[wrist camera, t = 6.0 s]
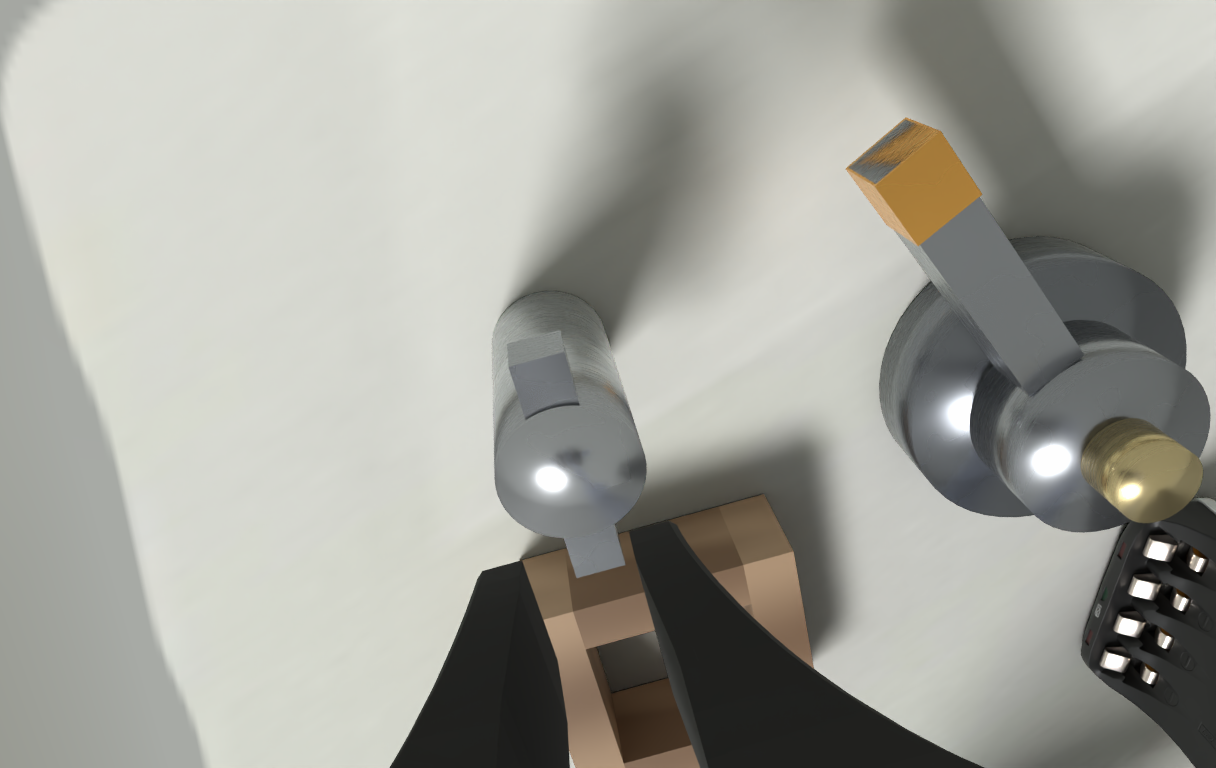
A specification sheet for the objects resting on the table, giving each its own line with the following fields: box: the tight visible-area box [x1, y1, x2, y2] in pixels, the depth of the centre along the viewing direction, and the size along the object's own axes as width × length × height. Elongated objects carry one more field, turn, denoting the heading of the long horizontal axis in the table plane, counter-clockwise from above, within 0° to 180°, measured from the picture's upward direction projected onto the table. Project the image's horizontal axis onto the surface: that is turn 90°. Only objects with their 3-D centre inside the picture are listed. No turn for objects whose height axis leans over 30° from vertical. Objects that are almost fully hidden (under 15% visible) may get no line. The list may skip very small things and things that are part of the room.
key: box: [492, 291, 646, 578], centre depth 19 cm, size 5×3×6 cm, turn 14°
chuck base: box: [879, 237, 1203, 523], centre depth 21 cm, size 7×7×6 cm
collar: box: [846, 118, 1210, 532], centre depth 19 cm, size 4×11×2 cm, turn 41°
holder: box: [521, 494, 814, 768], centre depth 25 cm, size 7×7×3 cm
